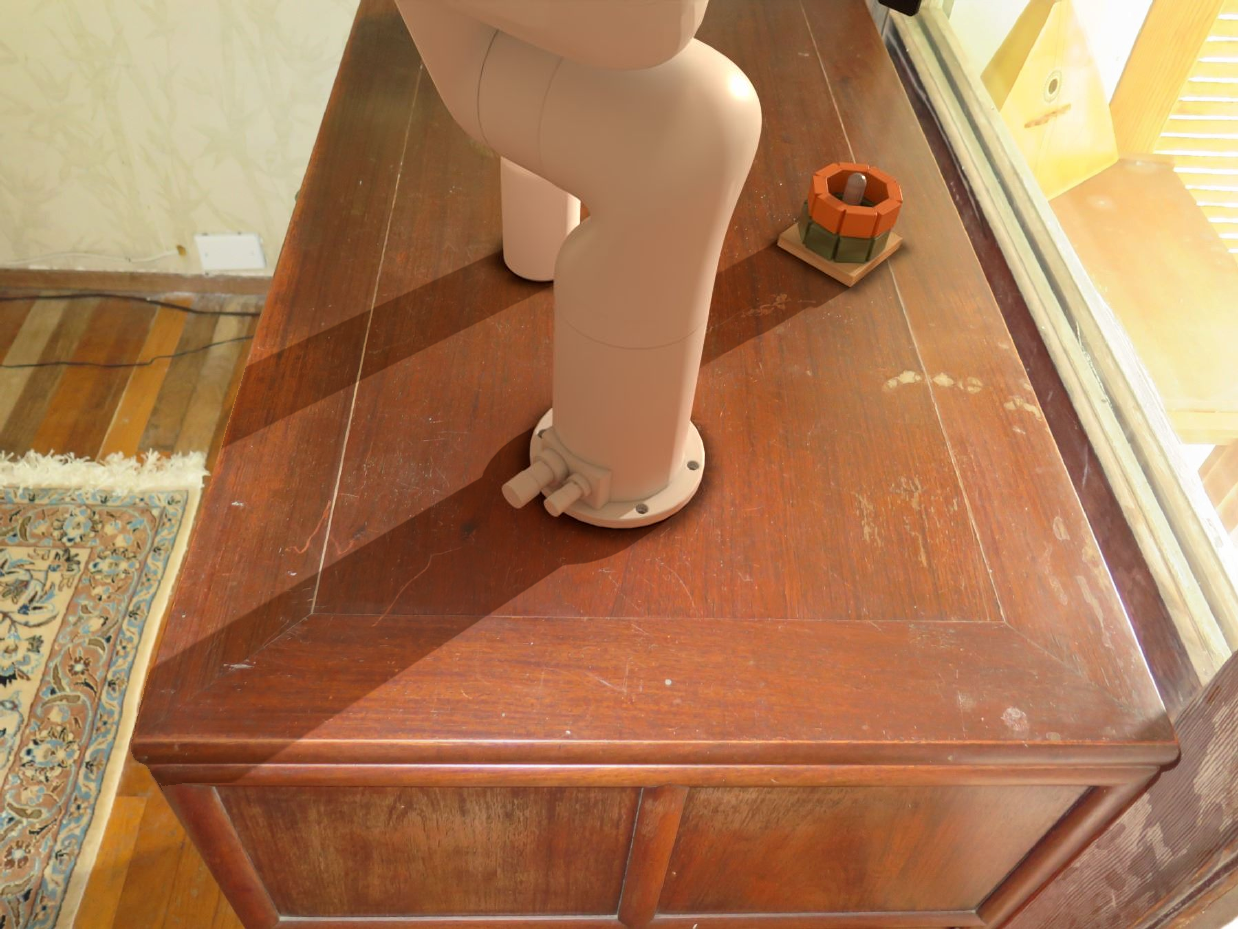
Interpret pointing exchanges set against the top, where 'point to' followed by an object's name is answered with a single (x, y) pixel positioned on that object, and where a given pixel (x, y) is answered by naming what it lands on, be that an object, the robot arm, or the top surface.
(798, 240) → the ring stand
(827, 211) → the orange ring
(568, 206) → the can
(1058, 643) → the top surface
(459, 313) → the top surface
